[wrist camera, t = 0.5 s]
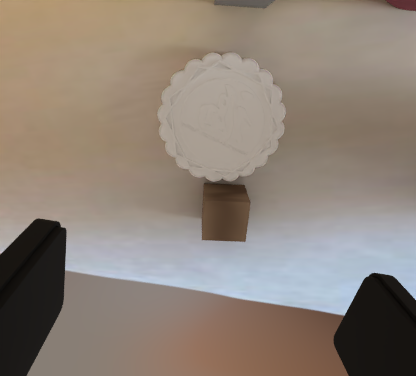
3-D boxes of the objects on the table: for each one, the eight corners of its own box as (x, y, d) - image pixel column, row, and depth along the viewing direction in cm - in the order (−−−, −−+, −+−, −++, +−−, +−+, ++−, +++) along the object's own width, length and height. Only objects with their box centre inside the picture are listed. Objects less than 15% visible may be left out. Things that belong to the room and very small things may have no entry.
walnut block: (244, 184, 33) (250, 202, 29) (240, 220, 35) (245, 241, 31) (203, 182, 33) (204, 200, 29) (201, 218, 35) (201, 240, 30)
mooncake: (301, 88, 29) (314, 91, 26) (243, 189, 33) (248, 203, 30) (190, 28, 27) (189, 23, 24) (143, 144, 31) (136, 154, 28)
